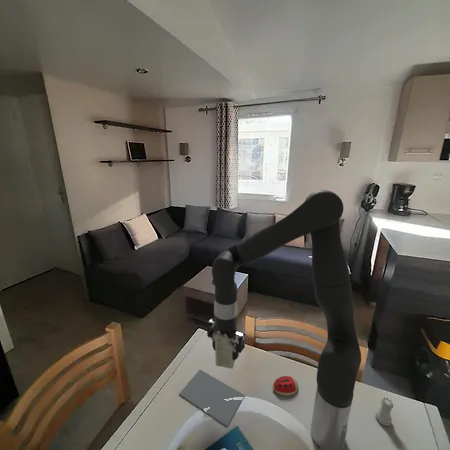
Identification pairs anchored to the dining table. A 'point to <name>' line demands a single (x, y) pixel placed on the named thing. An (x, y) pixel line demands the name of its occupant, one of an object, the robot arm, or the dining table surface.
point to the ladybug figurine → (285, 385)
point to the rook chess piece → (384, 412)
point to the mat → (212, 396)
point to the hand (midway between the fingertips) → (225, 353)
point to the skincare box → (223, 352)
